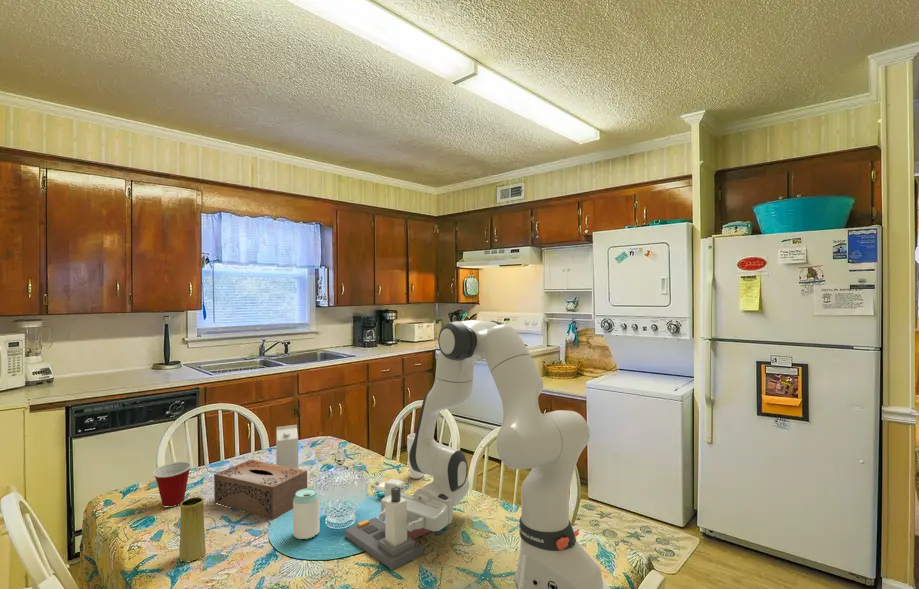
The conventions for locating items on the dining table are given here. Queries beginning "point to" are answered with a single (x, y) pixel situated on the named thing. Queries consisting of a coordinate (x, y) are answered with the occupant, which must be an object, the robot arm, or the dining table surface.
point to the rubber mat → (416, 532)
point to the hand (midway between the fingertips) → (393, 522)
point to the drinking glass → (409, 443)
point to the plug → (395, 518)
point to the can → (306, 514)
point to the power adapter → (389, 486)
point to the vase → (192, 529)
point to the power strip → (382, 544)
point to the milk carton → (287, 446)
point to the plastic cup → (172, 482)
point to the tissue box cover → (259, 488)
